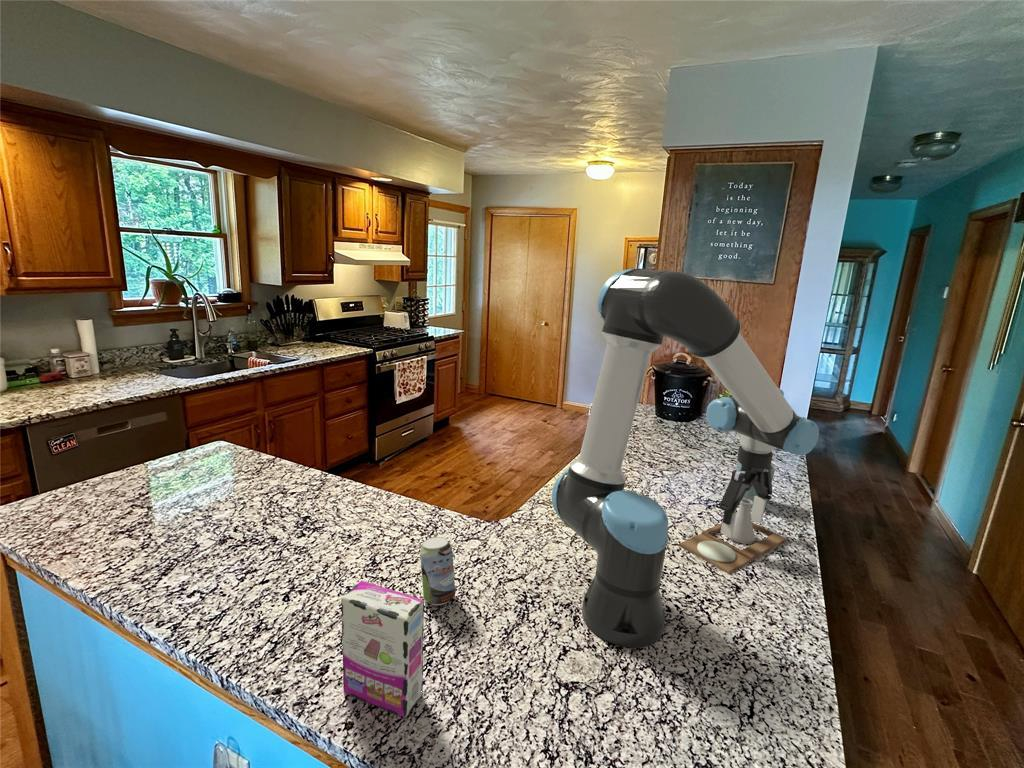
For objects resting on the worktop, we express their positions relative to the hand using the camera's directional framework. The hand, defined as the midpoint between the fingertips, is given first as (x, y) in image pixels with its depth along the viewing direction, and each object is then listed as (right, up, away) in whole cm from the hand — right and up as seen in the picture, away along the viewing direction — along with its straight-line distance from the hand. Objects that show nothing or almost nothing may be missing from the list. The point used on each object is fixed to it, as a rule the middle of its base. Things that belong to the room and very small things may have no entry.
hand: (741, 528), depth 126 cm
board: (-3, -3, -3) cm, 5 cm away
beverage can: (-72, -5, -29) cm, 78 cm away
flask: (0, -3, +1) cm, 3 cm away
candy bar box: (-77, -10, -51) cm, 93 cm away
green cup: (+12, +2, +21) cm, 24 cm away
